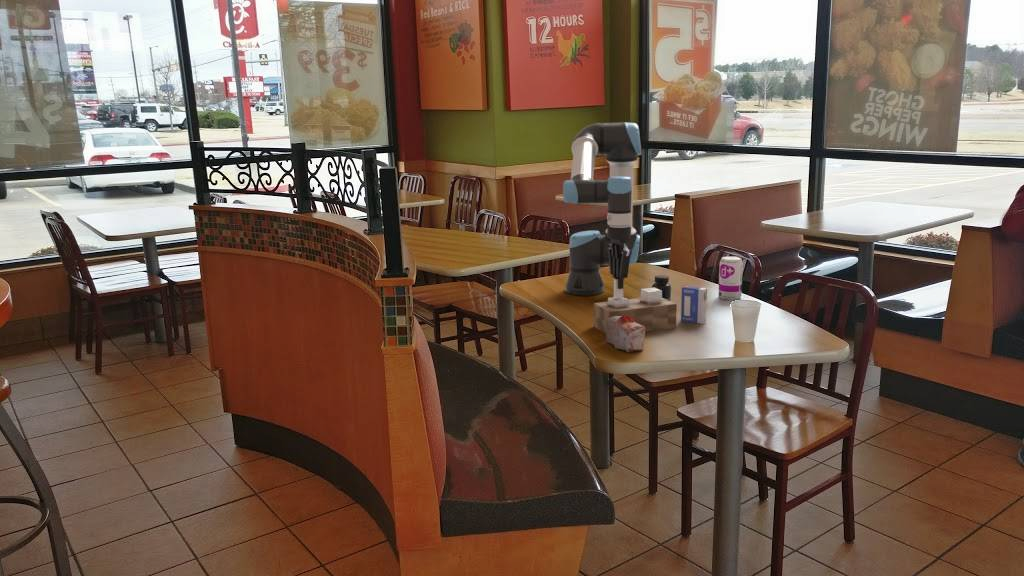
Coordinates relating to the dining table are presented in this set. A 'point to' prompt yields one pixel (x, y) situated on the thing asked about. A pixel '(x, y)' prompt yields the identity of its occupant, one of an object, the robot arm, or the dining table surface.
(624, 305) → the peg near
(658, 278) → the supplement bottle
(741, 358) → the dining table surface
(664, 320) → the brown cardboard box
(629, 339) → the food item
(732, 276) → the supplement can
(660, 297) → the peg far
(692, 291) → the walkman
